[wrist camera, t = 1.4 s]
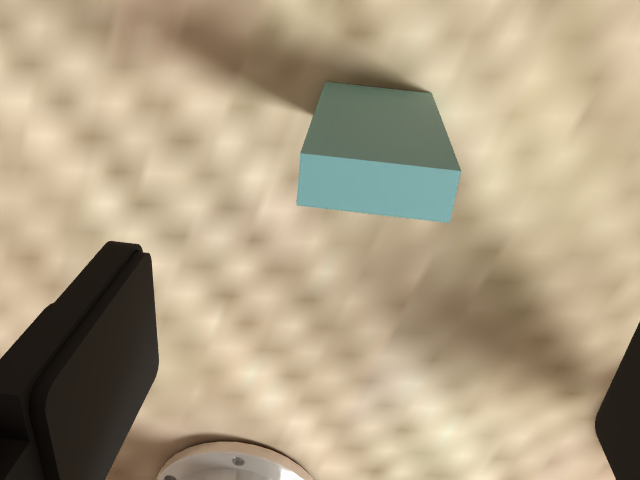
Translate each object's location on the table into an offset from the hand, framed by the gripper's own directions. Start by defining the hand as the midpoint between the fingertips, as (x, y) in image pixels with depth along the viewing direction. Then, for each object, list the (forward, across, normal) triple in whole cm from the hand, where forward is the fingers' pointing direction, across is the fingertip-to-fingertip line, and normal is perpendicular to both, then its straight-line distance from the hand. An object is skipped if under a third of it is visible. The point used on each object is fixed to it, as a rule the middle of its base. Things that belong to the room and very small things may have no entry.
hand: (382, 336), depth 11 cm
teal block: (+18, 0, 0) cm, 18 cm away
